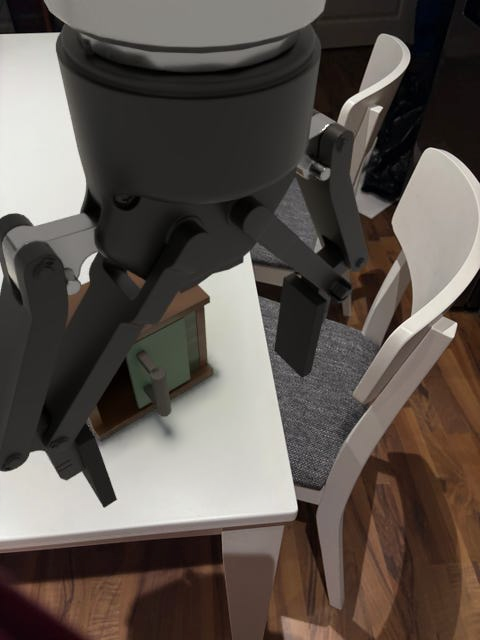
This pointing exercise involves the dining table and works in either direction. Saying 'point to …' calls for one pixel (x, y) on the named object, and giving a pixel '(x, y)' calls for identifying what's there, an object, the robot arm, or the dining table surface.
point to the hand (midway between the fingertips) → (204, 417)
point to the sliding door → (159, 366)
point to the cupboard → (119, 395)
